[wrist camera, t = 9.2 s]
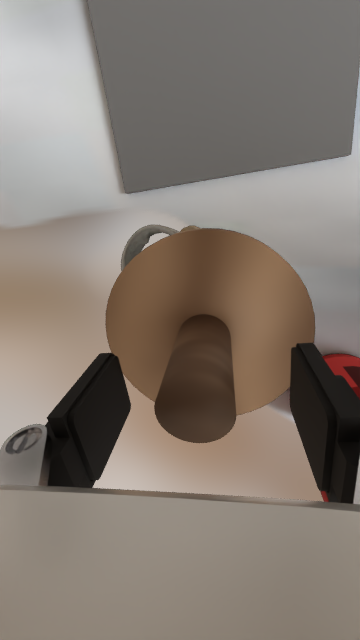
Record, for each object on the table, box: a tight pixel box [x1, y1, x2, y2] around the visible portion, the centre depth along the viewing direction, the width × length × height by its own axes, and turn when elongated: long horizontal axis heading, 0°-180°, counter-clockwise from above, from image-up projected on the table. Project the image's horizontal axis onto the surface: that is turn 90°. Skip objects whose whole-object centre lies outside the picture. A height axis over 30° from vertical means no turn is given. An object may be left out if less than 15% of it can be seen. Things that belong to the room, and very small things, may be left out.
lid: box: [106, 228, 315, 443], centre depth 12 cm, size 11×11×6 cm
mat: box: [87, 0, 360, 194], centre depth 15 cm, size 15×15×1 cm
